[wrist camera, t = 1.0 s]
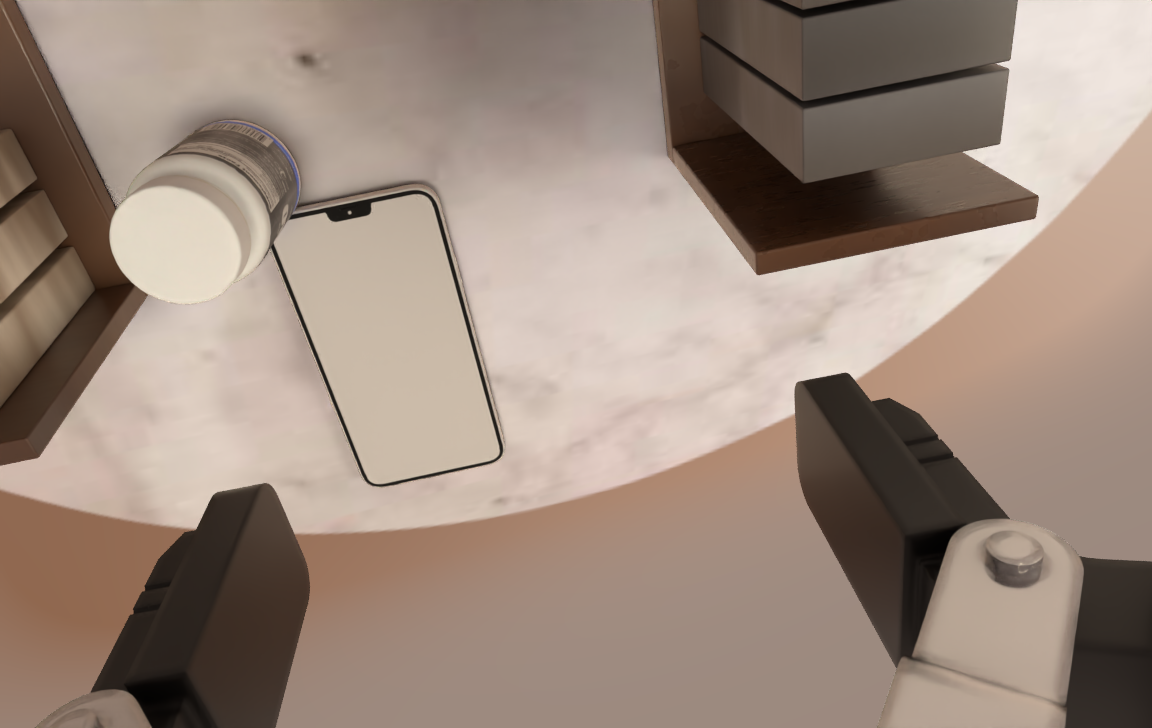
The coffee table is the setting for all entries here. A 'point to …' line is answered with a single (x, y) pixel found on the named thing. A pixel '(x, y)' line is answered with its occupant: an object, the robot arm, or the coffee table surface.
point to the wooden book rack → (49, 253)
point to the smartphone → (391, 333)
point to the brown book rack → (838, 121)
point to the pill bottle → (205, 212)
